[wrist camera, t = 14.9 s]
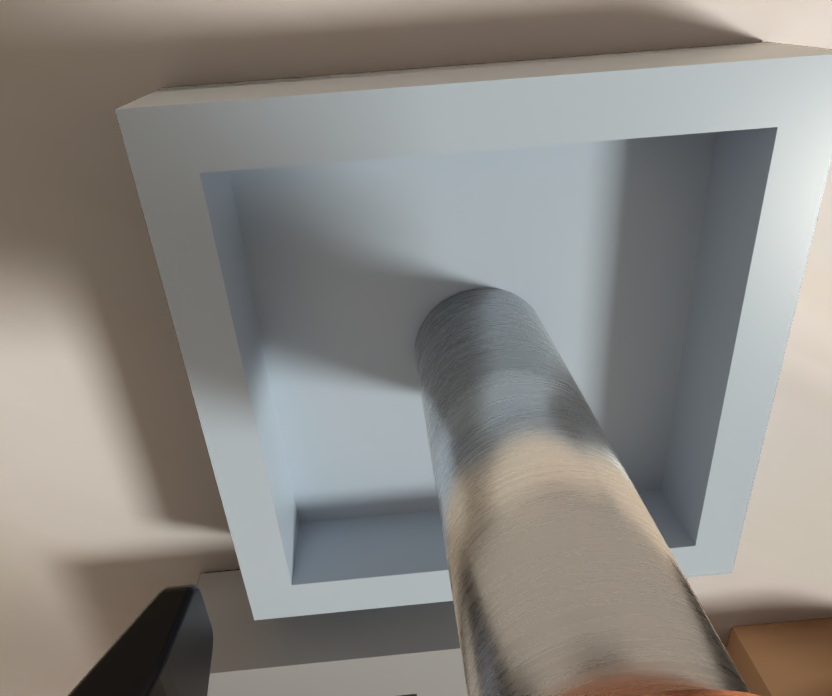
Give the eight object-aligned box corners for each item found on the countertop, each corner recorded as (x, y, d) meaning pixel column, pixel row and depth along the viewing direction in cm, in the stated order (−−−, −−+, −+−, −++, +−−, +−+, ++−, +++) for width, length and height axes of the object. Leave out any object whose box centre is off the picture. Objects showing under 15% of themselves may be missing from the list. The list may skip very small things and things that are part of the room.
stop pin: (567, 261, 13) (967, 770, 4) (559, 409, 15) (837, 983, 6) (388, 277, 13) (449, 835, 4) (402, 425, 15) (463, 1033, 6)
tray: (766, 41, 12) (857, 52, 10) (685, 499, 17) (731, 573, 15) (162, 88, 12) (114, 109, 9) (269, 539, 17) (254, 620, 15)
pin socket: (461, 548, 17) (477, 646, 15) (467, 706, 21) (482, 809, 18) (200, 574, 17) (170, 677, 15) (249, 728, 21) (232, 836, 18)
